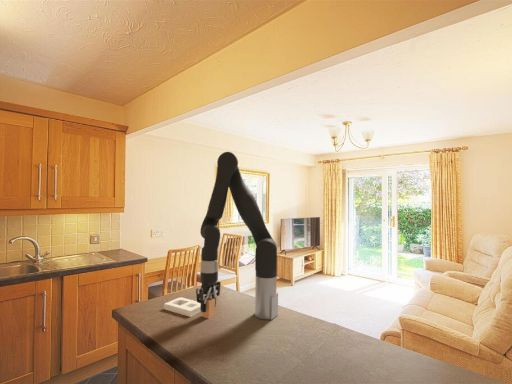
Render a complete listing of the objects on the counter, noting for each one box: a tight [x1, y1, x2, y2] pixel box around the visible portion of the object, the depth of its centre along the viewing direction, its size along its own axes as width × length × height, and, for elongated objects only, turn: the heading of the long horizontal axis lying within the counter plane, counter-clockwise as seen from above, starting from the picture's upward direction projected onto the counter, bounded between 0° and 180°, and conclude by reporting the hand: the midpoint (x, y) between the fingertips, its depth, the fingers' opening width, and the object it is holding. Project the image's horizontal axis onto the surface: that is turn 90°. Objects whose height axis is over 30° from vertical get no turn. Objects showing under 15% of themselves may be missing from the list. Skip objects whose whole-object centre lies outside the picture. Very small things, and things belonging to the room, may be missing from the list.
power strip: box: [163, 296, 202, 318], centre depth 127 cm, size 16×10×3 cm, turn 60°
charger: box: [201, 294, 216, 319], centre depth 120 cm, size 4×4×9 cm
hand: (208, 309), depth 120 cm, fingers open, 6 cm apart
